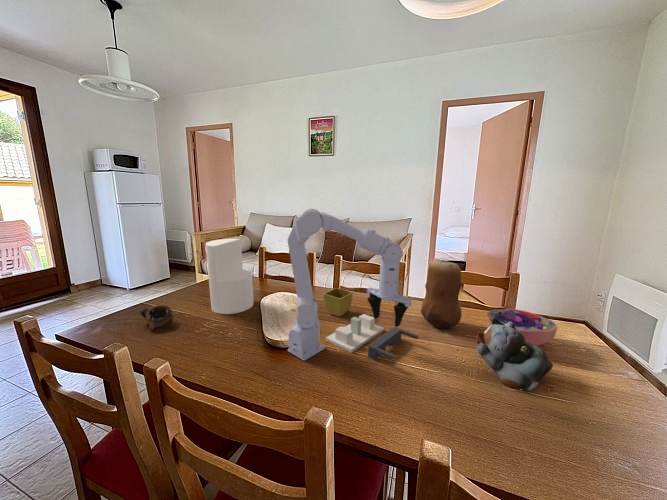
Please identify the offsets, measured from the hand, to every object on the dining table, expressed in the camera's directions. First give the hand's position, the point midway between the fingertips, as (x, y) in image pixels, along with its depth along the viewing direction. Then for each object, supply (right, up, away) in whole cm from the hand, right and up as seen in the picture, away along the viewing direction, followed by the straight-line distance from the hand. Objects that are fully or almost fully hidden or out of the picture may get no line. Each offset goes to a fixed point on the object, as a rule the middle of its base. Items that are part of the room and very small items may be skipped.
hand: (386, 321), depth 88 cm
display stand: (-9, -7, +10) cm, 15 cm away
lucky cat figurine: (+32, -12, -10) cm, 36 cm away
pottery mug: (-83, -5, +17) cm, 85 cm away
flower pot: (-15, -4, +27) cm, 31 cm away
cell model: (+46, -9, +7) cm, 47 cm away
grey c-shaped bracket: (+2, -10, 0) cm, 10 cm away
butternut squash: (+23, -6, +17) cm, 29 cm away
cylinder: (-61, -2, +34) cm, 70 cm away
